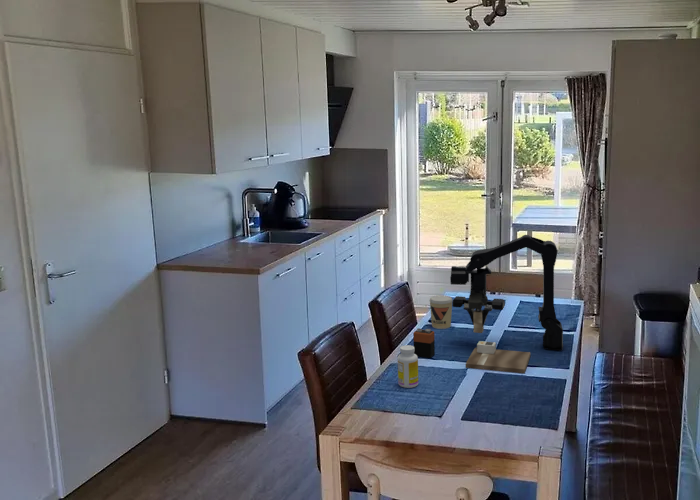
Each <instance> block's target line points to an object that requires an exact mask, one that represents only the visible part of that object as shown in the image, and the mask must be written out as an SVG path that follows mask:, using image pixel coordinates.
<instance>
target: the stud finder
mask: <svg viewBox="0 0 700 500" xmlns="http://www.w3.org/2000/svg"><path fill="white" fill-rule="evenodd" d="M496 345H497V343H496V342H493V341H482V340H479V341H478V343H477V344H476V348H477V353H488V354H494V353H495V351H496V349H497V348H496V347H497V346H496Z"/></svg>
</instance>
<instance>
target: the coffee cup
mask: <svg viewBox="0 0 700 500" xmlns="http://www.w3.org/2000/svg"><path fill="white" fill-rule="evenodd" d="M453 300H454V299H453V297H451V296H449V295H445V294H444V295H441V294H438V295H434V296H433V295H432V296H431V297H430V298H429V305H430V307H429V308H430V319H431V327H432V328H434V329H438V330H445V329H449V328H451V326H452V314H453V313H452V309H453V306H452V302H453Z"/></svg>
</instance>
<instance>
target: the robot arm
mask: <svg viewBox="0 0 700 500" xmlns="http://www.w3.org/2000/svg"><path fill="white" fill-rule="evenodd" d="M525 248H527V249H529V250H531V251H533V252H535V253H537V254H539V255H540V256H541V257H540V258H541V261H542V267H543V270H542V273H543V274H542V275H543V276H542V277H543V278H542V280H543V281H542V283H543V284H542V285H543V288H542V290H543V291H542V292H543V293H542V295H543V296H542V297H543V299H542V300H543V301H542V304H541V305H542V306H538V322H539V323H540V324H541V327H542V328H543V329H545V330H544V333H543V334H542V346H543V349H544V350H550V351H552V350H553V351H563V349H564V342H563V341H564V329H563V325H562V322H561V321H560V320H559V319H558V318H557V314H556V310H555V297H554V295H555V265H556V262H557V256H558V249H557V245H556V243H555V242H553V241H552V240H543V239H540V238H536V237H534V236H531V235H529V234H524V235H522V236H520V237H517V238H515V239H513V240H509V241H506V242H504V243H502V244H500V245H497V246H494V247H490V248H484V249H483V248H482V249H478V250H475V251H473V252H472V253H471V256H470V260H469V262H468V263H467V264H466V266H453V265H452V266H451V267H450V270H451V271H450V277H449V278H450V285H453V286H454V285H458V286H464V285H465V286H466V285H467V284H468V283H469V282H470V293H469V296H468V299H467V298H466V296H460V295H459V296H455V297H454V298H453V299H452V300H453V301H452V308H461V307H463V310H464V311H465V310H466V311H467V313H468V315H469V317H470V320H471V322H472V325H473V326H474V322H473V312H474V311H475V310H476V309H477V310H480V309H481V310H483V321H482V324H483V326H485V323H486V320H487V316H488V315H489V313H490V312H492V311H493V310H494V311H495V310H497V311H503V310H504V308H505V306H506V303H505V302H506V301H505V299H503V298H493V300H488V299H489V298H488V296H487V275H491V274H492V270H491V268H489V264H491V263H492V262H494V261H495V260H497V259H499V258H501V257H504V256H508V255H510V254H512V253H514V252H518V251H520V250H523V249H525ZM483 307H484V308H483ZM482 308H483V309H482Z"/></svg>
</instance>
